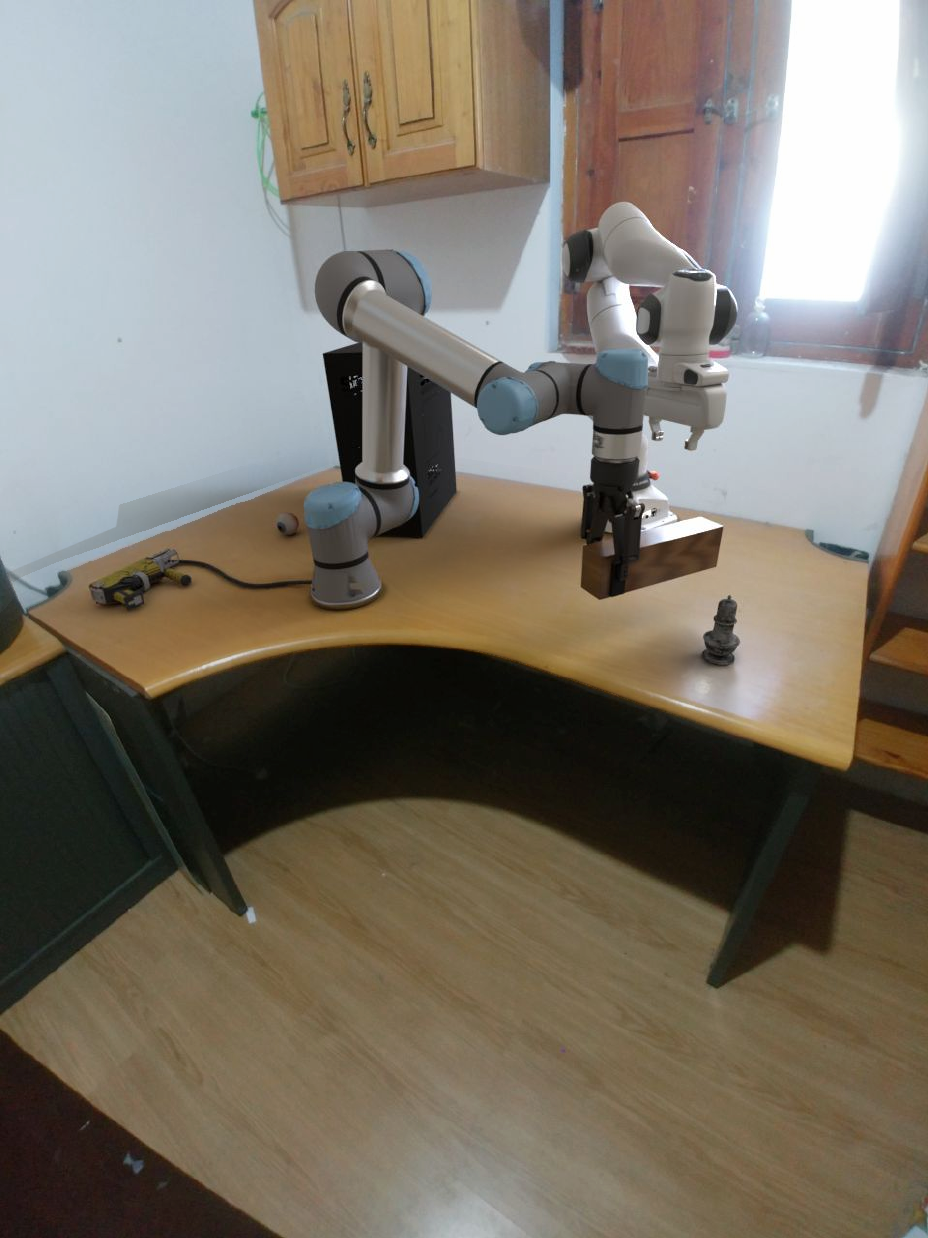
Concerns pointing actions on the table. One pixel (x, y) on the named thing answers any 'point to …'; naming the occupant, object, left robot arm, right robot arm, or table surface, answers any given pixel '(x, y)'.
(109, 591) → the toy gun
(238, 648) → the table surface
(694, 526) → the bar
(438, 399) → the black computer tower
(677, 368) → the right robot arm
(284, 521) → the eyeball
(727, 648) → the dark grey tiered figure
